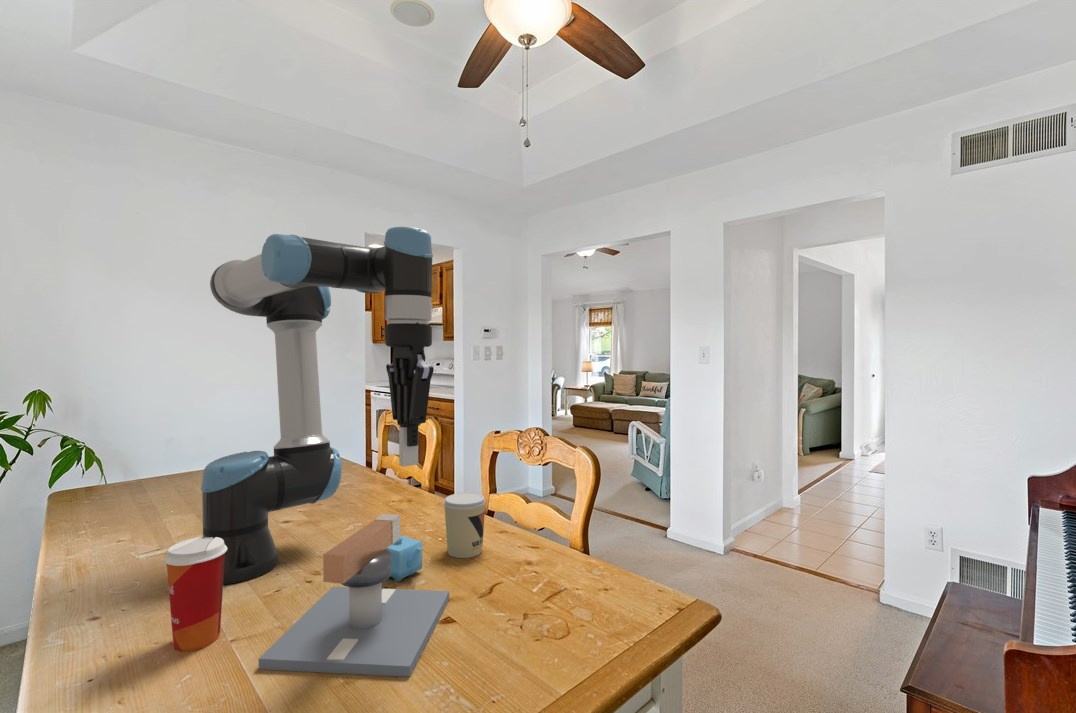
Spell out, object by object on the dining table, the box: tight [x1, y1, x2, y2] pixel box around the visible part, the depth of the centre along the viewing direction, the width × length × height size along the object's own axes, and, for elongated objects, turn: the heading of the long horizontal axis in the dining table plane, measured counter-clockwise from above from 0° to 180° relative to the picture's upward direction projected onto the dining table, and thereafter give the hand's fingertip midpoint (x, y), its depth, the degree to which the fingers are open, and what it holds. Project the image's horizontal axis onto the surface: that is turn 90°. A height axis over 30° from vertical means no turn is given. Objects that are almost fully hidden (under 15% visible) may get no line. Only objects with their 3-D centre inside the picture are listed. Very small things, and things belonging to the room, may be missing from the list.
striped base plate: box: [258, 582, 450, 678], centre depth 82 cm, size 22×22×8 cm
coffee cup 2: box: [443, 492, 487, 559], centre depth 115 cm, size 9×9×12 cm
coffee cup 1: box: [163, 537, 227, 652], centre depth 79 cm, size 8×8×15 cm
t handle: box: [322, 513, 401, 588], centre depth 82 cm, size 18×8×7 cm, turn 170°
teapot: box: [385, 535, 424, 582], centre depth 102 cm, size 12×6×8 cm, turn 58°
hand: (408, 464), depth 85 cm, fingers closed
